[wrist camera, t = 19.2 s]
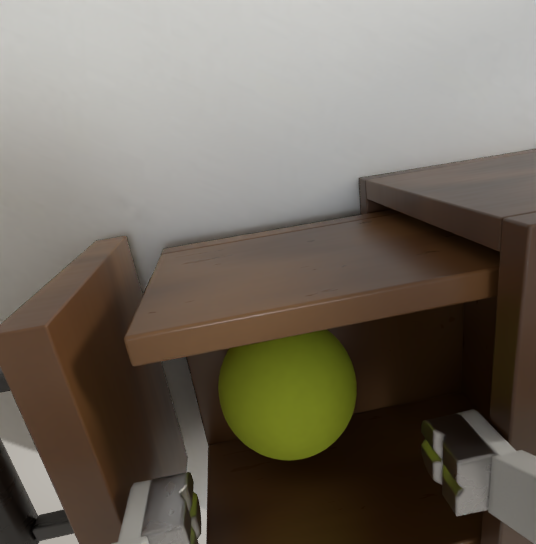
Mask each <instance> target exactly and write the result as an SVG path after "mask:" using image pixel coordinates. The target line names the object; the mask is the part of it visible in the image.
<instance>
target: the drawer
mask: <svg viewBox="0 0 536 544" xmlns="http://www.w3.org/2000/svg"><path fill="white" fill-rule="evenodd" d="M499 265H500V251H496V250H494V249H491V248H489V247H486V246H484V245H481V244H479V243H476V242H474V241H471V240H469V239H466V238H464V237H461V236H459V235H456V234H454V233H451V232H449V231H446V230H444V229H441V228H439V227H436V226H434V225H431V224H429V223H426V222H424V221H421V220H419V219H416V218H414V217H411V216H409V215H406V214H404V213H401V212H399V211H396V210H394V209H392V210H386V211H380V212H374V213H368V214H363V215H357V216H351V217H345V218H339V219H333V220H328V221H322V222H316V223H310V224H304V225H299V226H293V227H287V228H281V229H275V230H270V231H264V232H258V233H252V234H246V235H240V236H235V237H229V238H223V239H217V240H211V241H206V242H200V243H194V244H188V245H182V246H177V247H171V248H165V249H163V251H162V253H161V256H160V258H159V261H158V263H157V265H156V267H155V270H154V272H153V274H152V276H151V278H150V281H149V283H148V285H147V287H146V290H145V292H144V294H143V295H142V291H141V287H140V284H139V280H138V276H137V273H136V269H135V266H134V262H133V258H132V255H131V251H130V248H129V244H128V240H127V237H126V236H121V237H115V238H109V239H103V240H97V241H95V242H94V243H93V244H92V245H91V246H89V247H88V248H87V249H86V250H85V251H84V252H83V253H81V254H80V255H79V256H78V257H77V258H76V259H75V260H73V261H72V262H71V263H70V264H69V265H68V266H67V267H65V268H64V269H63V270H62V271H61V272H60V273H59V274H57V275H56V276H55V277H54V278H53V279H52V280H51V281H49V282H48V283H47V284H46V285H45V286H44V287H43V288H41V289H40V290H39V291H38V292H37V293H36V294H35V295H33V296H32V297H31V298H30V299H29V300H28V301H27V302H25V303H24V304H23V305H22V306H21V307H20V308H19V309H17V310H16V311H15V312H14V313H13V314H12V315H11V316H9V317H8V318H7V319H6V320H5V321H4V322H3V323H1V324H0V392H6V391H11V392H12V395H13V397H14V399H15V401H16V404H17V406H18V408H19V410H20V412H21V415H22V417H23V419H24V421H25V424H26V426H27V428H28V430H29V433H30V435H31V437H32V439H33V442H34V444H35V446H36V448H37V451H38V453H39V455H40V457H41V459H42V462H43V464H44V466H45V468H46V471H47V473H48V475H49V477H50V480H51V482H52V484H53V486H54V488H55V491H56V493H57V495H58V497H59V500H60V502H61V504H62V506H63V509H64V510H60V511H56V512H51V513H47V514H42V515H39V516H38V515H37V513H36V511H35V509H34V507H33V505H32V503H31V501H30V499H29V497H28V494H27V492H26V490H25V488H24V486H23V484H22V482H21V480H20V478H19V476H18V474H17V472H16V470H15V467H14V465H13V463H12V461H11V459H10V457H9V455H8V453H7V451H6V449H5V447H4V445H3V443H2V441H1V438H0V544H38V543H39V541H42V540H46V539H51V538H55V537H60V536H64V535H69V534H73V533H75V536H76V538H77V540H78V542H79V544H112V543H116V542H118V539H119V534H120V530H121V526H122V522H123V518H124V514H125V509H126V505H127V501H128V497H129V493H130V489H131V487H132V485H133V484H134V483H136V482H142V481H147V480H152V479H155V478H160V477H166V476H171V475H176V474H181V473H186V470H187V458H188V457H187V453H186V450H185V446H184V442H183V439H182V435H181V432H180V428H179V424H178V421H177V417H176V414H175V410H174V406H173V403H172V399H171V396H170V392H169V388H168V385H167V381H166V378H165V374H164V370H163V367H162V363H161V361H167V360H172V359H177V358H182V357H186V358H187V362H188V366H189V370H190V374H191V378H192V382H193V386H194V390H195V394H196V398H197V402H198V406H199V410H200V414H201V418H202V422H203V426H204V430H205V434H206V438H207V442H208V446H209V447H208V487H207V544H481V530H482V516H483V511H481V512H476V513H471V514H466V515H462V516H456V515H455V513H454V512H453V510H452V508H451V507H450V505H449V504H448V502H447V501H446V499H445V498H444V496H443V495H442V485H441V484H439V483H437V482H436V481H434V480H433V479H432V477H431V476H430V474H429V473H428V471H427V469H426V466H425V464H424V461H423V457H422V450H421V444H422V443H423V441H424V440H425V437H424V435H423V434H422V433H421V424H422V422H423V421H424V420H429V419H433V418H437V417H442V416H446V415H451V414H456V413H459V412H464V411H468V410H472V409H474V410H476V411H478V412H479V413H480V414H481V415H482V416H483V417H484V418H485V419H486V420H487V421H488V423H489V413H490V398H491V383H492V368H493V354H494V339H495V324H496V310H497V295H498V280H499ZM326 329H327V330H328V331H329V332H331V333H332V334H333V335H334V336H335V337H336V338H337V339H338V340H339V341H340V343H341V344H342V345H343V347H344V348H345V350H346V351H347V353H348V355H349V357H350V359H351V361H352V364H353V367H354V371H355V375H356V382H357V397H356V403H355V408H354V411H353V415H352V417H351V419H350V421H349V423H348V425H347V427H346V429H345V430H344V432H343V433H342V434H341V435H340V437H339V438H338V439H337V440H336V441H335V442H334V443H333V444H332V445H330V446H329V447H328V448H327V449H325V450H323V451H322V452H320V453H318V454H316V455H314V456H311V457H308V458H304V459H299V460H278V459H273V458H269V457H266V456H263V455H261V454H259V453H257V452H255V451H254V450H252V449H250V448H249V447H248V446H246V445H245V444H244V443H243V442H242V441H241V440H240V439H239V438H238V437H237V436H236V435H235V434H234V433H233V431H232V430H231V428H230V427H229V425H228V423H227V421H226V419H225V417H224V415H223V412H222V408H221V405H220V400H219V392H218V382H219V374H220V369H221V366H222V363H223V360H224V357H225V355H226V353H227V351H228V350H229V348H234V347H239V346H244V345H249V344H254V343H259V342H265V341H270V340H275V339H280V338H285V337H290V336H295V335H301V334H306V333H311V332H316V331H321V330H326Z"/></svg>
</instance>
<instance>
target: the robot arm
mask: <svg viewBox="0 0 536 544" xmlns="http://www.w3.org/2000/svg"><path fill="white" fill-rule="evenodd" d="M421 433H422V434H423V435H424V437H425V440H424V441H423V443H422V444H421V450H422V457H423V461H424V464H425V466H426V469H427V471H428V473H429V474H430V476H431V477H432V479H433V480H434V481H436V482H437V483H439V484H441V485H442V495H443V496H444V498H445V499H446V501H447V502H448V504H449V505H450V507H451V508H452V510H453V512H454V513H455V515H456V516H462V515H466V514H471V513H476V512H481V511H486V510H488V512H489V513H490V514H492V515H493V516H495V517H496V518H498V519H499V520H501V521H502V522H503V523H505V524H506V525H508V526H509V527H511V528H512V529H513V530H515V531H516V532H518V533H519V534H521V535H522V536H524V537H525V538H526V539H528V540H529V541H531V542H532V543H534V544H536V456H534V455H532V454H530V453H527V452H525V451H523V450H519V451H516V450H515V449H514V448H513V447H512V446H511V445H510V444H509V443H508V442H507V441H506V440H505V439H504V438H503V437H502V436H501V435H500V434H499V433H498V432H497V431H496V430H495V429H494V428H493V427H492V426H491V425H490V424H489V423H488V421H487V420H486V419H485V418H484V417H483V416H482V415H481V414H480V413H479V412H478V411H476V410H474V409H472V410H468V411H464V412H459V413H456V414H451V415H446V416H442V417H437V418H433V419H429V420H424V421H423V422H422V424H421ZM193 484H194V482H193V479H192V475H191V473H190V472H187V473H181V474H176V475H171V476H166V477H160V478H155V479H152V480H147V481H142V482H136V483H134V484H133V485H132V487H131V489H130V493H129V497H128V501H127V505H126V509H125V514H124V518H123V522H122V526H121V530H120V534H119V539H118V542H116V543H112V544H198V540H197V539H198V537H199V536H200V534H201V513H200V505H199V500H198V496H197V494H196V493H194V492H193Z"/></svg>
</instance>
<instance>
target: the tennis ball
mask: <svg viewBox="0 0 536 544" xmlns="http://www.w3.org/2000/svg"><path fill="white" fill-rule="evenodd" d="M218 392H219V400H220V405H221V408H222V412H223V415H224V417H225V419H226V421H227V423H228V425H229V427H230V428H231V430H232V431H233V433H234V434H235V435H236V436H237V437H238V438H239V439H240V440H241V441H242V442H243V443H244V444H245V445H246V446H248V447H249V448H250V449H252V450H254V451H255V452H257V453H259V454H261V455H263V456H266V457H269V458H273V459H278V460H299V459H304V458H308V457H311V456H314V455H316V454H318V453H320V452H322V451H323V450H325V449H327V448H328V447H329V446H330V445H332V444H333V443H334V442H335V441H336V440H337V439H338V438H339V437H340V435H341V434H342V433H343V432H344V430H345V429H346V427H347V425H348V423H349V421H350V419H351V417H352V415H353V411H354V408H355V403H356V397H357V382H356V375H355V371H354V367H353V364H352V361H351V359H350V357H349V355H348V353H347V351H346V350H345V348H344V347H343V345H342V344H341V343H340V341H339V340H338V339H337V338H336V337H335V336H334V335H333V334H332V333H331V332H329V331H328V330H327V329H326V330H321V331H316V332H311V333H306V334H301V335H295V336H290V337H285V338H280V339H275V340H270V341H265V342H259V343H254V344H249V345H244V346H239V347H234V348H229V350H228V351H227V353H226V355H225V357H224V360H223V363H222V366H221V369H220V374H219V382H218Z"/></svg>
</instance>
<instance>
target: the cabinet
mask: <svg viewBox="0 0 536 544" xmlns="http://www.w3.org/2000/svg"><path fill="white" fill-rule="evenodd" d="M359 186H360V203H361V215H363V214H368V213H374V212H380V211H386V210H392V209H394V210H396V211H399V212H401V213H404V214H406V215H409V216H411V217H414V218H416V219H419V220H421V221H424V222H426V223H429V224H431V225H434V226H436V227H439V228H441V229H444V230H446V231H449V232H451V233H454V234H456V235H459V236H461V237H464V238H466V239H469V240H471V241H474V242H476V243H479V244H481V245H484V246H486V247H489V248H491V249H494V250H496V251H500V265H499V280H498V295H497V310H496V324H495V339H494V354H493V368H492V383H491V398H490V413H489V424H490V425H491V426H492V427H493V428H494V429H495V430H496V431H497V432H498V433H499V434H500V435H501V436H502V437H503V438H504V439H505V440H506V441H507V442H508V443H509V444H510V445H511V446H512V447H513V448H514V449H515V450H516V451H519V450H523V451H525V452H527V453H530V454H532V455H534V456H536V149H532V150H526V151H520V152H514V153H508V154H502V155H496V156H490V157H484V158H478V159H472V160H466V161H460V162H453V163H447V164H441V165H435V166H429V167H423V168H417V169H411V170H405V171H399V172H393V173H387V174H381V175H374V176H368V177H362V178H359ZM481 544H534V543H532V542H531V541H529V540H528V539H526V538H525V537H524V536H522V535H521V534H519V533H518V532H516V531H515V530H513V529H512V528H511V527H509V526H508V525H506V524H505V523H503V522H502V521H501V520H499V519H498V518H496V517H495V516H493V515H492V514H490V513H489V512H488V510H486V511H483V516H482V530H481Z"/></svg>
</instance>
